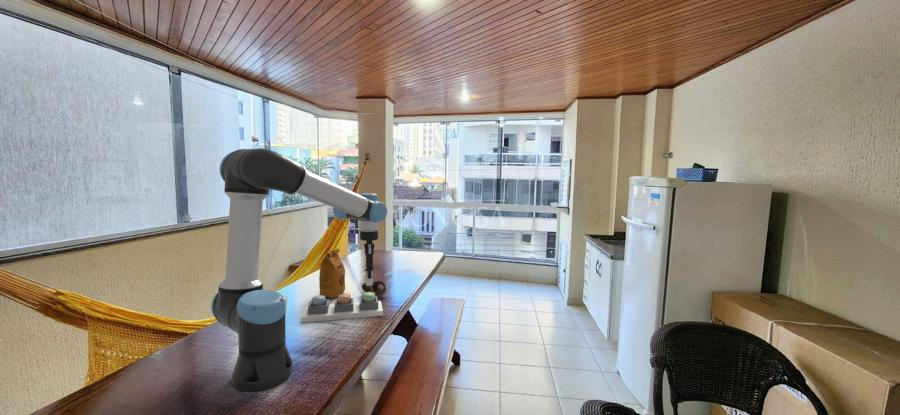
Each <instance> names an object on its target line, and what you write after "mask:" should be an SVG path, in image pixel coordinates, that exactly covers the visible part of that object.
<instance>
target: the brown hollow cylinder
mask: <svg viewBox="0 0 900 415" xmlns="http://www.w3.org/2000/svg"><path fill="white" fill-rule="evenodd" d="M379 285H382V286H383V288H380V287H379ZM361 289H362V290H363V291H364V293H366V292H373V293H375V296H377V298H378V297H380V296H381V297H382V296H383V295H384V294H385V293H386V291H387V287H386V284H385V282H384V281H381V280H373V285H371V286H366V282H363V284H362V285H361Z"/></svg>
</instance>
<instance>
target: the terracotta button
mask: <svg viewBox="0 0 900 415" xmlns="http://www.w3.org/2000/svg"><path fill="white" fill-rule="evenodd" d="M351 298H352V297H351V294H350V293H341V294H340V295H338V296H337V299H338V304H349V303H350V300H351Z"/></svg>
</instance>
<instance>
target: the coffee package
mask: <svg viewBox="0 0 900 415" xmlns="http://www.w3.org/2000/svg"><path fill="white" fill-rule="evenodd" d="M340 251H341V250H340V249H339V248H335V249H332V250H329V251H327V253H326V254H325V256H324V258H323V259H322V261H321V264H320V267H319V276H318V277H319V279H318V280H319V295H323V296H325V299H327V298H329V299H331V298H333V299H334V298H335V299H336V298H338V295H340V294H343V293H344V292H345V291H346V270H345V265H344V263H343V261H342V260H341V258H340V256H339V253H340Z"/></svg>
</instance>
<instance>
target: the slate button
mask: <svg viewBox="0 0 900 415" xmlns="http://www.w3.org/2000/svg"><path fill="white" fill-rule="evenodd" d="M325 300H326V298H325V296H323V295H320V294H319V295H315V296H312V297H311V301H312V306H324V305H325Z"/></svg>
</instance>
